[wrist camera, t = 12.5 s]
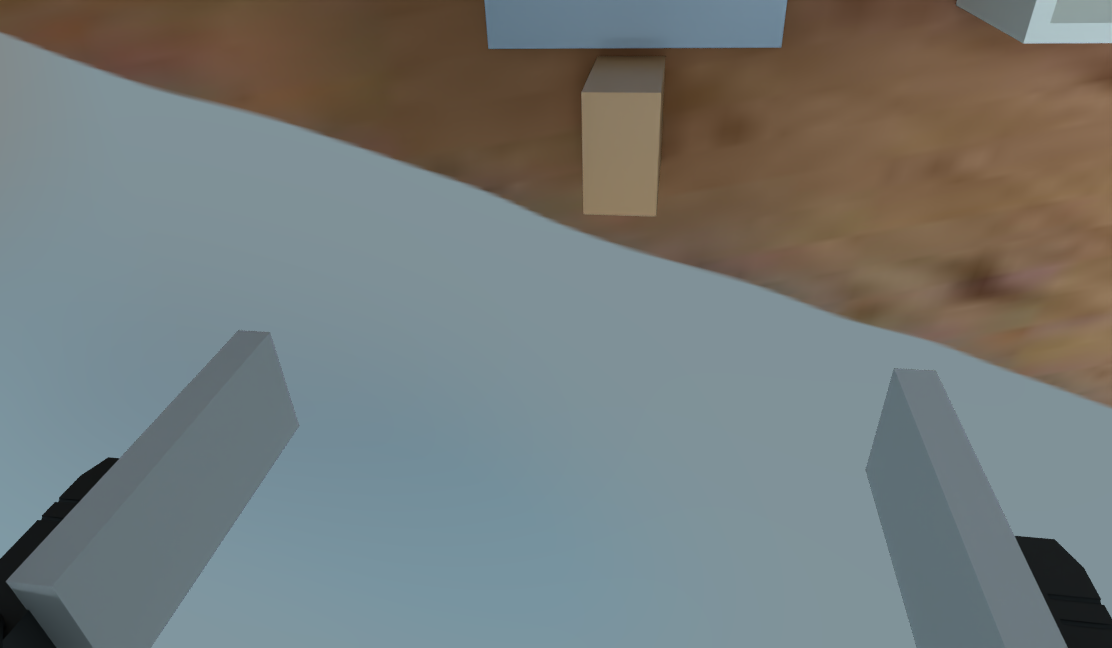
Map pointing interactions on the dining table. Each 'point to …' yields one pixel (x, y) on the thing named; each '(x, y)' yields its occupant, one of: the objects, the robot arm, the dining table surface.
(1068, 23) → the tub
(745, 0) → the lid
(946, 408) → the robot arm
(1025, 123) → the dining table surface
